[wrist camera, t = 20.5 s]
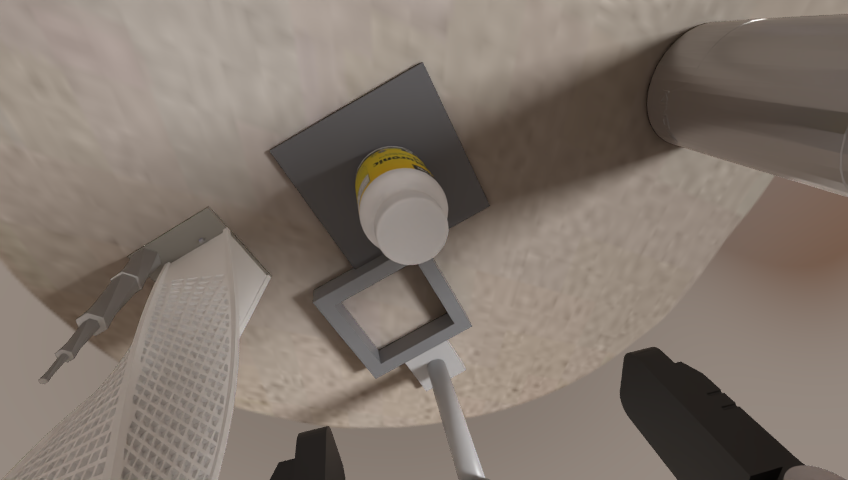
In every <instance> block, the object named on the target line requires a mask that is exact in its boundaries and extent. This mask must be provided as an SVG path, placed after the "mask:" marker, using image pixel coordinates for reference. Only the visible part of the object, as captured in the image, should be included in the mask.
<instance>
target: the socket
mask: <svg viewBox="0 0 848 480" xmlns="http://www.w3.org/2000/svg"><path fill="white" fill-rule="evenodd" d="M418 265H419V267H420V269H421V270H422V272H423V273H424V275H425V277H426V278H427V280H428V281H429V283H430V285H431V286H432V288H433V290H434V291H435V293H436V294H437V296H438V298H439V299H440V301H441V302H442V304H443V306H444V307H445V309H446V311H447V312H448V313H446V314H444V315H443V316H441V317H439V318H437V319H435V320H433V321H432V322H430V323H428V324H426V325H424V326H423V327H421V328H419V329H417V330H415V331H413V332H412V333H410V334H408V335H406V336H404V337H402V338H401V339H399V340H397V341H395V342H393V343H391V344H390V345H388V346H386V347H384V348H382V349H381V350H378V349H377V348H376V346H375V345H374V344H373V342H372V341H371V340H370V339H369V337H368V336H367V335H366V333H365V332H364V331H363V330H362V328H361V327H360V326H359V324H358V323H357V322H356V321H355V319H354V318H353V317H352V316H351V314H350V313H349V312H348V310H347V309H346V308H345V307H344V305H343V304H342V303H341V302H342V301H344V300H346V299H348V298H349V297H351V296H353V295H355V294H357V293H358V292H360V291H362V290H364V289H366V288H367V287H369V286H371V285H373V284H375V283H376V282H378V281H380V280H382V279H384V278H385V277H387V276H389V275H391V274H393V273H394V272H396V271H398V270H400V269H402V268H403V267H405V266H407V265H403V264H399V263H396V262H394V261H392V260H390V259H389V258H388V257H386V256H385V255H384V254H382V255H381V256H379V257H377V258H375V259H373V260H372V261H370V262H368V263H366V264H364V265H363V266H361V267H359V268H357V269H356V270H355V269H354V268H353V269H351V270H349V271H347V272H346V273H344V274H342V275H340V276H339V277H337V278H335V279H333V280H331V281H330V282H328V283H326V284H324V285H322V286H321V287H319V288H317V289H315V290H314V293H313V303H314V305H315V306H316V307H317V308H318V310H319V311H320V312H321V313H322V314H323V316H324V317H325V318H326V319H327V320H328V322H329V323H330V324H331V325H332V326H333V328H334V329H335V330H336V331H337V333H338V334H339V335H340V336H341V337H342V339H343V340H344V341H345V342H346V343H347V345H348V346H349V347H350V348H351V349H352V351H353V352H354V353H355V354H356V355H357V357H358V358H359V359H360V360H361V362H362V363H363V364H364V365H365V366H366V368H367V369H368V370H369V371H370V372H371V374H372V375H373V376H374V377H375V378H378V377H380V376H382V375H384V374H385V373H387V372H389V371H391V370H393V369H395V368H396V367H398V366H400V365H402V364H404V363H405V364H406V365H407V366H408V367H409V369H410V370H411V371H412V373H413V374H414V375H415V377H416V378H417V379H418V381H419V382H420V383H421V385H422V386H423V387H424V389H425V390H426V391H428V390H430V389H432V388H433V391H434V395H435V398H436V402H437V405H438V409H439V412H440V416H441V419H442V423H443V426H444V430H445V433H446V436H447V440H448V444H449V447H450V451H451V454H452V458H453V461H454V465H455V468H456V472H457V475H458V479H459V480H473V479H477V478H485V476H484V473H483V470H482V467H481V464H480V462H479V459H478V456H477V453H476V450H475V447H474V444H473V441H472V439H471V436H470V433H469V430H468V427H467V424H466V421H465V418H464V415H463V413H462V410H461V407H460V404H459V401H458V398H457V395H456V392H455V390H454V387H453V384H452V381H451V378H452V377H454V376H456V375H458V374H460V373H461V372H463V371H465V370H466V368H465V366H464V364H463V362H462V360H461V359H460V357H459V356H458V354H457V353H456V351H455V350H454V348H453V347H452V345H451V343H450V342H449V340H448V339H450V338H452V337H453V336H455V335H457V334H459V333H461V332H463V331H464V330H466V329H468V328H470V327H472V325H471V323H470V321H469V319H468V317H467V315H466V313H465V311H464V310H463V308H462V306H461V304H460V303H459V301H458V299H457V298H456V296H455V294H454V293H453V291H452V289H451V287H450V286H449V284H448V282H447V281H446V279H445V277H444V276H443V274H442V272H441V270H440V269H439V267H438V265H437V264H436V262H435V260H434V259H433V258H432V259H430V260H428V261H426V262H424V263H421V264H418Z"/></svg>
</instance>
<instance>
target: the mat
mask: <svg viewBox="0 0 848 480" xmlns="http://www.w3.org/2000/svg"><path fill="white" fill-rule="evenodd" d="M387 146H397V147H402V148H405V149H407V150H409V151H411V152H413V153H414V154H415V155H416V156H417V157H419V159H420V160H421V161H422V162H423V163H424V165H425V166H426V167H427V169H428V170H429V171H430V173H431V174H432V175H433V177H434V178H435V179H436V181H437V182H438V183H439V184H440V186H441V188H442V189H443V191H444V193H445V196H446V199H447V203H448V217H447V221H448V227H449V228H451V227H453V226H455V225H456V224H458V223H460V222H462V221H464V220H465V219H467V218H469V217H471V216H473V215H474V214H476V213H478V212H480V211H482V210H483V209H485V208H487V207H489V206H490V205H489V203H488V201H487V199H486V196H485V194H484V192H483V190H482V188H481V186H480V184H479V182H478V179H477V177H476V175H475V173H474V171H473V169H472V167H471V164H470V162H469V160H468V158H467V156H466V154H465V152H464V149H463V147H462V145H461V143H460V141H459V139H458V137H457V134H456V132H455V130H454V128H453V126H452V124H451V122H450V119H449V117H448V115H447V113H446V111H445V109H444V107H443V104H442V102H441V100H440V98H439V96H438V94H437V92H436V89H435V87H434V85H433V83H432V81H431V79H430V77H429V74H428V72H427V70H426V68H425V66H424V64H423V62H421V63H419V64H418V65H416V66H414V67H413V68H411V69H409V70H407V71H406V72H404V73H402V74H400V75H399V76H397V77H395V78H394V79H392V80H390V81H388V82H387V83H385V84H383V85H381V86H380V87H378V88H376V89H375V90H373V91H371V92H369V93H368V94H366V95H364V96H362V97H361V98H359V99H357V100H356V101H354V102H352V103H350V104H349V105H347V106H345V107H343V108H342V109H340V110H338V111H337V112H335V113H333V114H331V115H330V116H328V117H326V118H324V119H323V120H321V121H319V122H318V123H316V124H314V125H312V126H311V127H309V128H307V129H305V130H304V131H302V132H300V133H299V134H297V135H295V136H293V137H292V138H290V139H288V140H286V141H285V142H283V143H281V144H280V145H278V146H276V147H274V148H273V149H271V150H270V152H271V154H272V155H273V156H274V158H275V159H276V161H277V162H278V163H279V165H280V166H281V168H282V169H283V170H284V172H285V173H286V175H287V176H288V177H289V179H290V180H291V181H292V183H293V184H294V186H295V187H296V188H297V190H298V191H299V193H300V194H301V195H302V197H303V198H304V199H305V201H306V202H307V204H308V205H309V206H310V208H311V209H312V211H313V212H314V213H315V215H316V216H317V218H318V219H319V220H320V222H321V223H322V224H323V226H324V227H325V229H326V230H327V231H328V233H329V234H330V236H331V237H332V238H333V240H334V241H335V243H336V244H337V245H338V247H339V248H340V249H341V251H342V252H343V254H344V255H345V256H346V258H347V259H348V261H349V262H350V263H351V265H352V266H353V268H354V269H355V270H356V269H357V268H359V267H361V266H363V265H364V264H366V263H368V262H370V261H372V260H373V259H375V258H377V257H379V256H381V255H382V254H383V252H382V251H381V250H380V248H378V247H377V246H375V245H374V244H373V243H372V242H371V241H370V240H369V239H368V237H367V236H366V234H365V233H364V231H363V228H362V225H361V222H360V218H359V211H358V204H357V197H356V190H355V178H356V173H357V170H358V167H359V165H360V164H361V162H362V161H363V159H364V158H365V157H366V156H367V155H368V154H370V153H371V152H373V151H374V150H376V149H379V148H382V147H387Z"/></svg>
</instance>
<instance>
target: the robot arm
mask: <svg viewBox="0 0 848 480" xmlns="http://www.w3.org/2000/svg"><path fill="white" fill-rule="evenodd" d="M647 109H648V117H649V120H650V123H651V126H652V127H653V129H654V130H655V132H656V133H657V135H658V136H660V137H661V138H662V139H663V140H664V141H667V142H669V143H671V144H674V145H677V146H680V147H684V148H687V149H690V150H694V151H697V152H700V153H704V154H707V155H710V156H713V157H716V158H719V159H723V160H726V161H729V162H733V163H736V164H739V165H743V166H746V167H749V168H753V169H756V170H759V171H763V172H766V173H769V174H773V175H776V176H779V177H783V178H786V179H789V180H793V181H796V182H799V183H803V184H806V185H809V186H813V187H816V188H820V189H823V190H826V191H829V192H833V193H836V194H840V195H843V196H846V197H848V14H837V15H819V16H800V17H782V18H763V19H747V20H737V21H721V22H709V23H706V24H702V25H699V26H697V27H695V28H693V29H691V30H690V31H688V32H686V33H685V34H684V35H683V36H681V37H680V38H679V39H678V40H676V41H675V42H674V44H673V45H672V46H671V47H670V48H669V49H668V50H667V51H666V53H665V54H664V56H663V57H662V59H661V60H660V62H659V64H658V65H657V68H656V70H655V72H654V74H653V77H652V79H651V83H650V87H649V90H648V99H647ZM620 399H621V402H622V405H623V408H624V410H625V412H626V413H627V415H628V417H629V418H630V419H631V421H632V422H633V423H634V425H635V426H636V427H637V428H638V430H639V431H640V432H641V434H642V435H643V436H644V437H645V439H646V440H647V441H648V442H649V444H650V445H651V446H652V448H653V449H654V450H655V451H656V453H657V454H658V455H659V456H660V458H661V459H662V460H663V462H664V463H665V464H666V466H667V467H668V468H669V469H670V471H671V472H672V473H673V475H674V476H675V477H676V478H677V480H846V479H844V478H843V477H841V476H839V475H837V474H835V473H833V472H830V471H828V470H825V469H822V468H819V467H814V466H806V465H804V464H803V463H801V462H800V461H799V460H798V459H797V458H796V457H794V456H793V455H792V454H791V453H790V452H789V451H788V450H787V449H786V448H785V447H783V446H782V445H781V444H780V443H779V442H778V441H777V440H776V439H774V438H773V437H772V436H771V435H770V434H769V433H768V432H767V431H766V430H765V429H764V428H762V427H761V426H760V425H759V424H758V423H757V422H756V421H754V420H753V419H752V418H751V417H750V416H749V415H748V414H747V413H746V412H745V411H744V410H743V409H741V408H740V407H737V406H736V404H735V402H734V401H733V400H731V399H730V398H729V397H728V396H727V395H726V394H725V393H722V392H721V390H720V389H719V388H718V387H717V386H716V385H715V384H714V383H713V382H712V381H711V380H709V379H708V378H707V377H706V376H705V375H704V374H703V373H701V372H699V371H697V370H695V369H693V368H692V367H690V366H688V365H686V364H684V363H682V362H677V363H674V362H673V361H672V360H671V359H670V358H669V357H668V356H666V355H665V354H664V353H663V352H662V351H661V350H660V349H658V348H656V347H650V348H646V349H642V350H638V351H634V352H630V353H627V354H626V355H625V357H624V362H623V370H622V380H621V388H620ZM270 480H345V474H344V468H343V464H342V461H341V458H340V455H339V452H338V449H337V446H336V443H335V440H334V437H333V434H332V431H331V429H330V427H329V426H326V427H322V428H318V429H314V430H310V431H306V432H302V433H299V434H298V437H297V443H296V453H295V459H291V460H287V461H283V462H279V463H278V465H277V467H276V469H275V471H274V473H273V475H272V477H271V479H270Z"/></svg>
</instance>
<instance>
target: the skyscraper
mask: <svg viewBox="0 0 848 480" xmlns="http://www.w3.org/2000/svg"><path fill="white" fill-rule="evenodd" d="M128 258H129V259H130V260H129V262H128V263H127V265H126V266H125V267H124V269H123V270H122V271H121V272H120V273H118V274H117V275H116V276H114V277H113V278H111V279H110V280H111V283H110V284H109V285H108V286H107V288H106V289H105V290H104V292H103V293H102V294H101V295H100V297H99V298H98V299H97V301H96V302H95V303H94V304H93V305H92V306H91V307H90V309H88V310H87V311H86V312H85V313H84V314H83V315H81V316H80V317H79V318H77V319H76V323H77V325H78V327H79V328H78V329H77V330H76V332H75V333H74V334H73V336H72V337H71V338H70V339H69V341H68V342H67V343H66V344H65V345H64V346H63V347H62V348H61V349H60V350H59V351H58V352H56V353H55V355H56V357H57V360H56V361H55V362H54V363H53V365H52V366H51V367H50V368H49V370H48V371H47V372H46V373H45V374H44V375H43V376H42V377H41V378H40V379H39V382H40V383H42V384H46V383H47V382H48V381H49V380H50V378H51V377H52V376H53V374H54V373H55V372H56V371H57V370H58V369H59V368H60V366H61V365H62V364H63V363H64V362H69V361H71V360H72V359H74V358H75V356H76V355H77V353H78V351H79V350H80V348H81V347H82V346H83V345H84V344H85V343H86V342H87V341H88V340H89V338H90V337H91V336H92V335H95V336H97V335H98V334H100V333H102V332H103V331H105V330H107V329H108V327H109V325H110V323H111V322H112V320H113V318H114V316H115V315H116V313H117V312H118V311H119V310H120V309H121V308H122V307H123V306H124V305H125V304H126V302H127V301H128V300H129V299H130V298H131V297H132V296H133V295H134V294H135V293H136V292H138V291H139V290H141V289H142V288H143V285H144V283H145V281H146V279H147V278H148V277H150V278H151V279H152V280H153V281H154V282H155V284H154V286H153V288H152V290H151V293H150V295H149V297H148V299H147V302H146V304H145V307H144V310H143V312H142V315H141V318H140V321H139V324H138V327H137V330H136V333H135V336H134V339H133V343H132V344H131V346H130V348H129V349H128V351H127V352H126V354H125V355H124V357H123V358H122V359H121V361H120V362H119V364H118V365H117V367H116V368H115V369H114V370H113V372H112V373H111V374H110V376H109V377H108V378H107V379H106V380H105V382H104V383H103V384H102V385H101V386H100V387H99V388H98V390H97V391H96V392H95V393H94V394H92V395H91V396H90V397H89V398H88V399H87V400H85V401H84V402H83V403H82V404H80V405H79V406H78V407H77V408H76V409H75V410H74V411H73V412H71V413H70V414H69V415H68V416H67V417H66V418H65V419H64V420H62V421H61V422H60V423H59V424H58V425H57V426H55V427H54V429H52V430H51V431H50V432H49V433H48V434H47V435H46V436H45V437H44V438H43V439H42V440H41V441H40V442H38V443H37V444H36V445H35V446H34V447H33V448H32V449H31V450H30V451H29V452H28V453H27V454H26V455H25V456H24V457H23V458H22V459H21V460H20V461H19V462H18V463H17V464H16V465H15V466H14V467H13V468H12V469H11V470H10V471H9V472H8V473H7V474H6V475H5V477H4V478H3V479H2V480H218V477H219V474H220V470H221V466H222V462H223V458H224V454H225V450H226V445H227V440H228V435H229V430H230V425H231V420H232V414H233V408H234V401H235V394H236V386H237V375H238V364H239V341H240V337H241V335H242V333H243V331H244V329H245V327H246V325H247V323H248V321H249V319H250V317H251V316H252V314H253V312H254V310H255V308H256V306H257V304H258V302H259V300H260V298H261V296H262V294H263V292H264V290H265V288H266V287H267V285H268V283H269V281H270V279H271V275H270V274H269V273H268V272H267V271H266V270H265V268H264V267H263V266H262V265H261V264H260V263H259V262H258V261H257V260H256V258H255V257H254V256H253V255H252V254H251V253H250V252H249V251H248V250H247V248H246V247H245V246H244V245H243V244H242V243H241V242H240V241H239V240H238V238H237V237H236V236H235V235H234V234H233V233H232V232H231V231H230V229H229V228H228V227H227V226H226V225H225V224H224V223H223V222H222V221H221V220H220V218H219V217H218V216H217V215H216V214H215V213H214V212H213V211H212V210H211V208H210V207H207V208H206V209H204V210H202V211H201V212H199V213H197V214H196V215H194V216H193V217H191V218H189V219H188V220H186V221H184V222H183V223H181V224H179V225H178V226H176V227H175V228H173V229H171V230H170V231H168V232H166V233H165V234H163V235H161V236H160V237H158V238H157V239H155V240H153V241H152V242H150V243H148V244H147V245H145V246H143V247H142V248H140V249H139V250H137V251H135V252H134V253H132V254H130V255H129V256H128Z"/></svg>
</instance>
